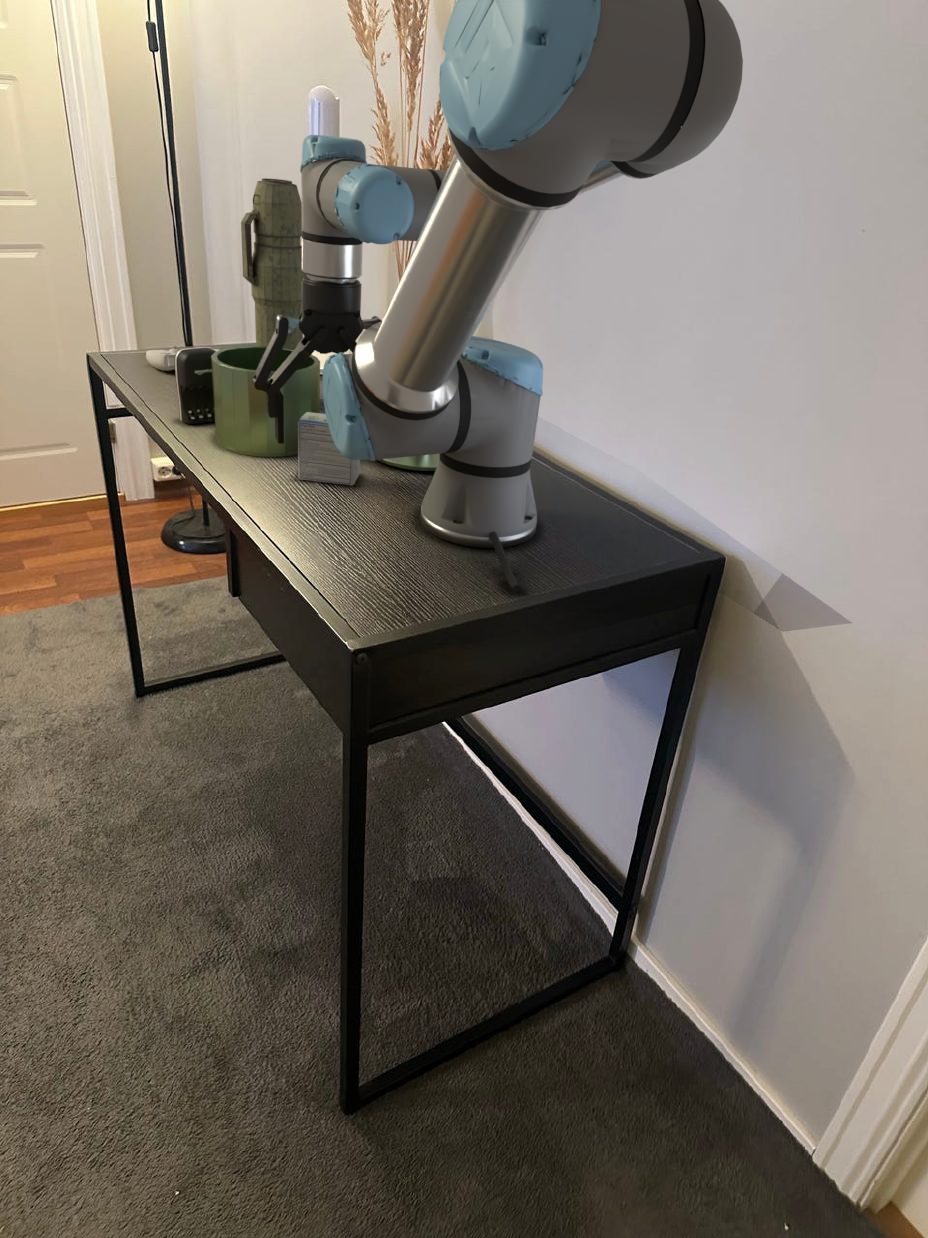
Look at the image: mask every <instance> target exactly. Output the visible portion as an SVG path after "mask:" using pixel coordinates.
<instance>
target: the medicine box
mask: <svg viewBox="0 0 928 1238" xmlns="http://www.w3.org/2000/svg"><path fill="white" fill-rule="evenodd" d="M297 456H298V457H297V459H298V460H297V463H298V471H297V472H298V474H297V475H298V476H297V477H298V480H300V481H301V480H302V481H310V482H318V483H319V482H320V483H327V484H328V483H329V484H335V485H336V484H337V485H345V486H352V487H353V486H354V485H355V483H356V482H357V480H358V477H359V475H360V460H350V459H347V458H346V457H344V456H343V455H342V454H341V453H340V452H339V451H338V449H337V447H336V445H335V443H334V441H333V438H332V436H331V433H330V429H329V426H328V422H327V417H326V413H321V412H320V413H312V412H306V413H305V414H304V415H303V416H302V417H301V418H300V420H299V421H298V455H297Z"/></svg>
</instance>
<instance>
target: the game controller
mask: <svg viewBox="0 0 928 1238" xmlns="http://www.w3.org/2000/svg"><path fill="white" fill-rule="evenodd" d="M170 347H171V348H170V349H169V350H165V349H149V350H147V351H146V352H145V353H146V354H145V358H146V360H147V362H148V364H150V366H152V367H153V368H155V369H157V370H159V371H165V372H170V371H173V370H175V355H176V353H177V352H178V351H179V350H180V349H179V348H178V345H171V346H170ZM212 349H213V350H214V351H216V352H217V351H220V350H221V349H219V348H212Z"/></svg>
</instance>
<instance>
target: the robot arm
mask: <svg viewBox="0 0 928 1238" xmlns="http://www.w3.org/2000/svg"><path fill="white" fill-rule="evenodd" d="M739 35H740V34H739V33H738V30H737V28H736V25H735V21H734V20H733V18H732V16H731V15H730V13H729V11H728V9H727V8H726V7H725V5H724V4H723V3H722V2H721V1H720V0H456V2H455V4H454V7H453V9H452V12H451V14H450V18H449V21H448V23H447V27H446V31H445V34H444V38H443V43H442V50H443V51H444V52H445V53H444V54H445V55H444V59H443V61H442V63H441V64H440V65H439V78H438V79H439V80H438V84H439V85H438V87H439V97H440V99H439V100H440V105H441V109H442V113H443V117H444V120H445V122H446V124H447V135H448V138H449V142H450V145H451V147H452V148H451V149H452V150H453V152H454V154H453V157H452V159H451V161H450V164H449V165H448V168H447V170H445V169H444V170H443V169H432V168H419V167H418V168H417V167H408V166H407V167H406V166H398V165H397V166H396V165H383V164H373V163H372V164H371V163H368V162H367V153H366V152H367V151H366V146H365V144H364V143H363V141H362V140H359V139H356V138H349V137H342V136H341V137H340V136H333V135H323V134H309V135H307V136H306V137H304V138H303V141H302V147H301V148H302V149H301V159H300V161H301V162H300V165H299V171H300V176H301V177H300V180H301V181H300V182H301V183H300V185H301V186H300V187H301V188H300V189H301V191H300V192H301V195H300V199H301V203H302V237H301V246H302V271H303V272H304V273H305V274H306V276H304V277H303V278H302V308H301V314H300V316H299V318H294V317H288V316H285V315H284V314H282V313H279V314H278V315H277V317H276V326H275V332H274V334H273V336H272V338H271V340H270V342H269V344H268V346H267V348H266V351H265V353H264V355H263V357H262V359H261V361H260V363H259V365H258V367H257V369H256V371H255V373H254V375H253V378H252V383H253V385H254V387H255V389H257V390H262V391H264V392H266V397H267V412H268V415H269V417H270V418H275V437H276V440H277V442H278V444H284V402H283V394H282V392H281V391H280V389H281V388H282V387H283V385H284V384H285V383H286V382H287V381H288V380H289V378H290V377H291V376H292V375H293V374H294V372H295V371H296V370H297V369H298V368H299V367H300V365H301V364H302V363H303V362H304V361H305V360H306V358H307V357H309V356H310V355H313V353H314V352H315V351H316V352H317V353H318V354H320V355H327V354H330V355H329V356H327V358H326V359H325V361H324V364H323V368H322V378H321V379H322V383H321V384H322V397H323V407H324V411H325V414H326V417H327V422H328V426H329V429H330V433H331V436H332V438H333V441H334V443H335V445H336V447H337V449H338V451H339V452H340V453H341V454H342V455H343V456H344V457H346V458H347V459H350V460H359V461H366V460H369V461H371V462H375V461H378V459H389V458H399V457H410V456H421V455H431V454H440V456H439V464H438V467H437V469H436V471H434V473H433V476H425V487H426V486H428V488H427V490H426V492H425V495H424V497H423V499H422V503H421V506H420V518H419V519H420V524H421V525H422V526H423V527H424V529H425V530H426V531H428V532H429V533H430V534H432V535H433V536H436V537H437V538H440V539H442V540H445V541H446V542H450V543H453V544H457V545H459V546H465V547H470V548H471V547H472V548H481V549H494V551H495V553H496V556H497V558H498V562H499V564H500V568H501V569H502V572H503V575H504V577H505V580H506V582H507V583H508V585H509V586H510V588H511V590H512V592H513V593H518V592H520V591H521V586H520V584H519V582H518V580H517V579H516V577H515V575H514V572H513V571H512V568H511V566H510V564H509V559H508V558H507V555H506V553H505V549H504V548H508V547H514V546H518V545H521V544H523V543H525V542H528V541H529V540H530V539H531V538H533V537H534V535H535V534H536V531H537V524H538V512H537V506H536V500H535V496H534V490H533V485H532V478H531V467H532V461H533V460H532V459H533V454H534V453H533V452H534V445H535V439H536V432H537V425H538V419H539V411H540V404H541V397H542V396H543V394H544V392H543V383H544V382H543V381H544V380H543V379H544V365H543V362H542V360H541V358H540V357H539V356H538V355H537V354H535V353H534V352H532V351H530V350H528V349H526V348H523V347H521V346H517V345H514V344H512V343H508V342H504V341H500V340H496V339H493V338H492V339H491V338H487V337H483V336H482V337H481V336H476V335H474V334H475V333H476V330H477V329H478V327H479V326H480V323H481V322H482V320H483V319H484V317H485V315H486V313H487V312H488V310H489V309H490V307H491V305H492V304H493V302H494V300H495V298H496V296H497V295H498V293H499V291H500V289H501V288H502V287H503V284H504V283H505V281H506V279H507V278H508V276H509V274H510V273H511V271H512V269H513V267H514V266H515V264H516V262H517V261H518V259H519V257H520V255H521V253H522V252H523V250H524V248H525V247H526V245H527V244H528V242H529V240H530V238H531V237H532V235H533V233H534V231H535V230H536V229H537V226H538V225H539V223H540V221H541V220H542V218H543V216H544V214H545V213H546V211H553V210H558V209H561V208H564V207H565V206H567V205H569V204H570V203H571V202H573V201H574V200H575V198H577V196H580V195H582V194H584V193H587V192H589V191H592V190H595V188H598V187H600V186H603V185H605V184H607V183H609V182H612V181H613V180H616V179H619V178H621V177H624V176H625V177H627V178H631V179H635V180H644V179H648V178H652V177H654V176H657V175H659V174H661V173H664V172H666V171H669V170H671V169H674V168H676V167H678V166H681V165H682V164H684V163H686V162H689V161H691V160H692V159H694V158H695V157H697V156H698V155H700V154H701V153H702V152H703V151H705V150H707V148H708V147H710V145H711V144H713V142H714V141H715V140H716V139H717V138H718V137H719V136H720V134H721V133H722V132H723V130H724V129H725V127H726V125H727V123H728V122H729V120H730V119H731V117H732V114H733V112H734V109H735V107H736V106H737V105H736V104H737V103H738V98H739V95H740V92H741V91H740V90H741V87H742V81H743V66H744V59H743V53H742V45H741V39H740V36H739ZM397 241H404V242H415V245H414V247H413V249H412V252H411V254H410V256H409V258H408V261H407V263H406V265H405V267H404V270H403V271H402V272H403V273H402V275H401V278H400V279H399V282H398V284H397V287H396V288H395V290H394V291H395V292H394V294H393V296H392V298H391V300H390V302H389V305H388V307H387V310H386V312H385V314H384V316H383V319H381V318H380V317H378V316H377V315H374V316H372V317H371V318H365V319H363V318H362V315H361V311H362V309H361V308H362V283H361V281H360V280H358V279H359V278H361V277H362V275H363V249H364V248H363V247H364V243H366V244H375V245H388V244H391V243H393V242H397ZM295 328H299V329H300V330H301V332H302V333H303V338H302V339H301V340H300V342H299V343H298V344H297V347H296V348H295V349H294V351H293V352H292V353H291V354H290V355H289V356H288V358H287V359H286V360H285V361H284V362H283V364H282V365H281V366H280V367H279V368H278V369H277V371H276V372H275V373H274V374H273V375H272V377H271V378H270V379H269V380H267V379H268V377H269V375H270V373H271V371H272V369H273V367H274V365H275V363H276V360H277V358H278V356H279V354H280V352H281V350H282V348H283V346H284V344H285V342H286V339H287V335H290V334H292V333H293V331H294V329H295ZM348 351H350V353H347V352H348ZM331 353H333V354H331Z"/></svg>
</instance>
